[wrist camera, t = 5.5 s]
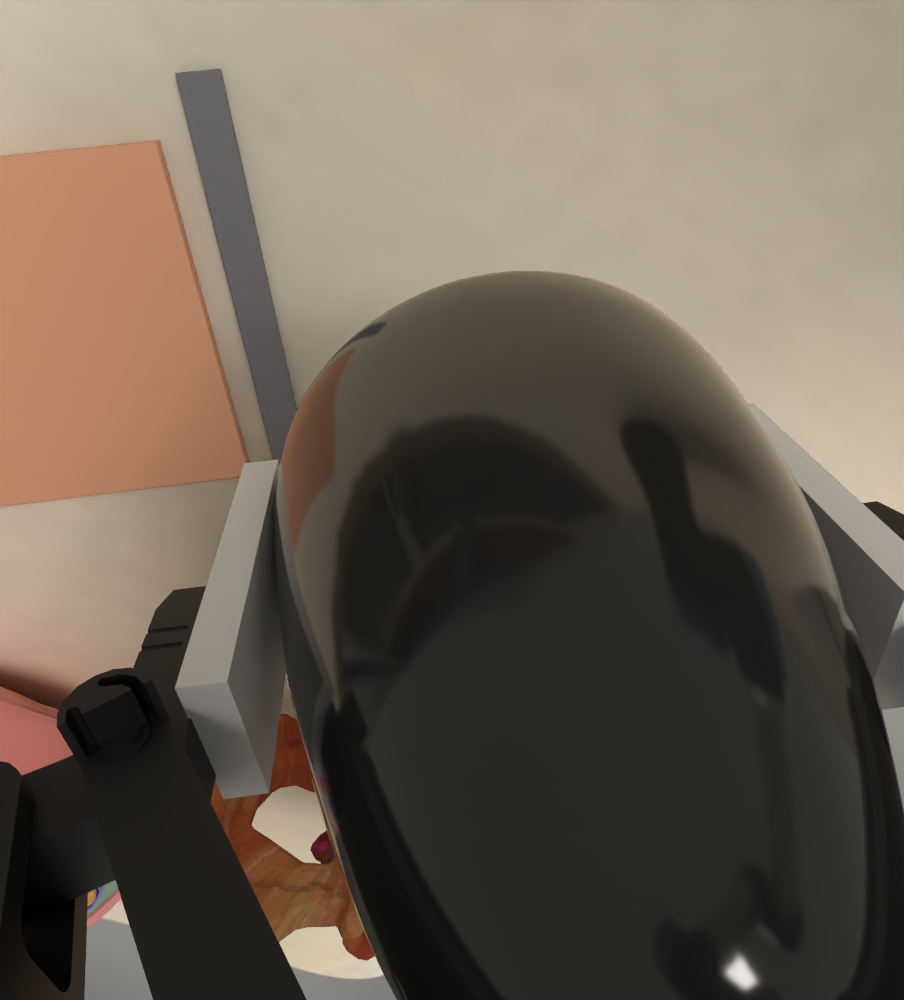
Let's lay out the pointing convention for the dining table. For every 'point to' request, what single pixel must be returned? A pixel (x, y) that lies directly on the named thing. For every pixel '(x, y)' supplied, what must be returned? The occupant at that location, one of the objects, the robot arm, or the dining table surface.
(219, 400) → the mat
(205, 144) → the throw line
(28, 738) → the cell model
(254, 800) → the mug
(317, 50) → the dining table surface
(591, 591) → the pump dispenser
